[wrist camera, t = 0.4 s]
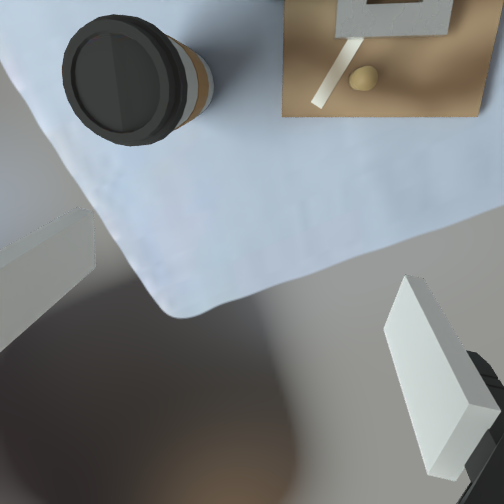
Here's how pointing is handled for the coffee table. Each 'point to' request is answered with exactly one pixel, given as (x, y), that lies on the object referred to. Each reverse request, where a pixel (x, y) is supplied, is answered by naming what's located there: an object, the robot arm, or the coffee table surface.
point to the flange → (392, 19)
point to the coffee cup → (133, 80)
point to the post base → (386, 65)
